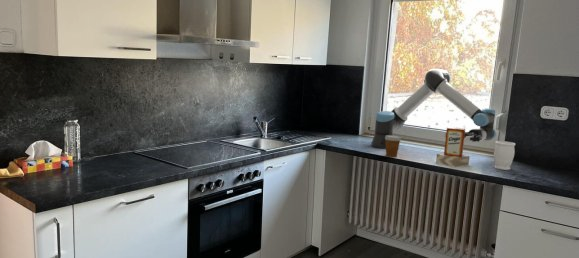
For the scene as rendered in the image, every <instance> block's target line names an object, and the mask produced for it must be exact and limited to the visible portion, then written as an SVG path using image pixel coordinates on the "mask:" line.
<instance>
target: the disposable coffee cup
mask: <svg viewBox="0 0 579 258" xmlns="http://www.w3.org/2000/svg"><path fill="white" fill-rule="evenodd" d="M385 139H386V148H385V156H386V157H392V158H396V157H398V153H399V148H400V143H401V140H402V139H401V136H399V135H394V134H392V135H386V137H385Z"/></svg>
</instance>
